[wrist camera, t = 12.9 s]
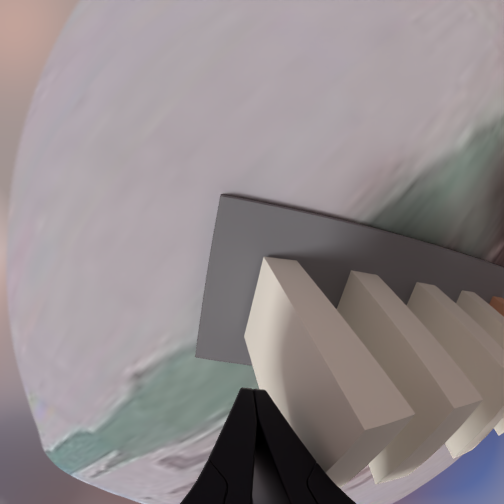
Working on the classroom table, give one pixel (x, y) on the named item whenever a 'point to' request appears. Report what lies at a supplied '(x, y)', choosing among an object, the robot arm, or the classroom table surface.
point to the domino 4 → (484, 324)
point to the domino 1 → (320, 372)
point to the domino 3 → (464, 361)
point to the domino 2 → (408, 374)
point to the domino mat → (317, 266)
